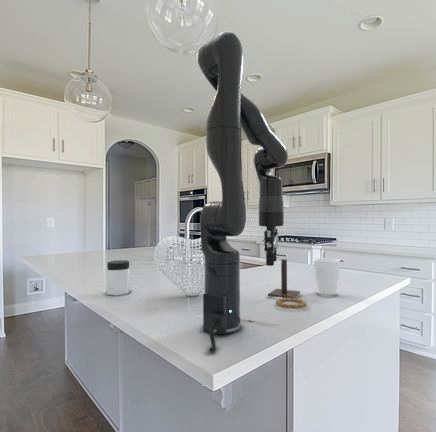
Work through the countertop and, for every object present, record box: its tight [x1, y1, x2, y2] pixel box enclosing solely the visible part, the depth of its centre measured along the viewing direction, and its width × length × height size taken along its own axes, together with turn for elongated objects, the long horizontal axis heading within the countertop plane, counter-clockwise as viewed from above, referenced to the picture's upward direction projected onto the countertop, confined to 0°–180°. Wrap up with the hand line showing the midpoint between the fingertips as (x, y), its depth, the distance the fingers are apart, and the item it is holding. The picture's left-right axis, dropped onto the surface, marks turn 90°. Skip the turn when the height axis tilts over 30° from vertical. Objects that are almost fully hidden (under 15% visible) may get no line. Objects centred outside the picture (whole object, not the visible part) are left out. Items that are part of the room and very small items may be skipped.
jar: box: [105, 259, 131, 297], centre depth 118 cm, size 9×8×12 cm
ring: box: [275, 297, 308, 310], centre depth 99 cm, size 10×10×2 cm
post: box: [267, 258, 301, 298], centre depth 111 cm, size 9×9×14 cm
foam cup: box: [313, 257, 341, 296], centre depth 113 cm, size 10×9×13 cm
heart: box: [153, 235, 205, 297], centre depth 113 cm, size 28×16×22 cm, turn 94°
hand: (271, 263), depth 94 cm, fingers open, 8 cm apart
